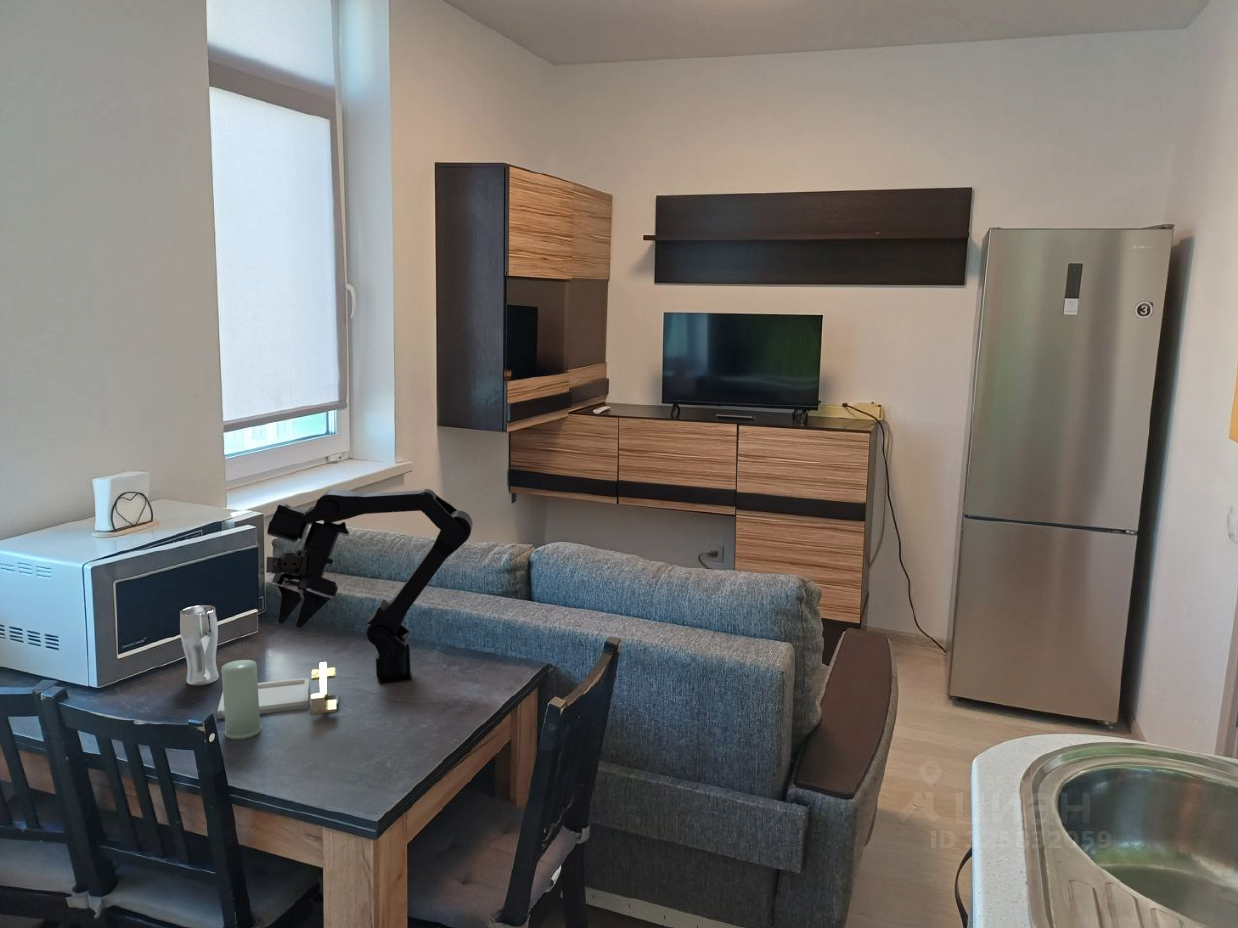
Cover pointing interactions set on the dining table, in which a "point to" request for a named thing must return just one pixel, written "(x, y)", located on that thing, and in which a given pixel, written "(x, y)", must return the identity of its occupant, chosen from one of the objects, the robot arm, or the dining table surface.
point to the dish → (279, 696)
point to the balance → (323, 691)
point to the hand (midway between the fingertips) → (288, 625)
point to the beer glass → (200, 643)
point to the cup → (241, 699)
